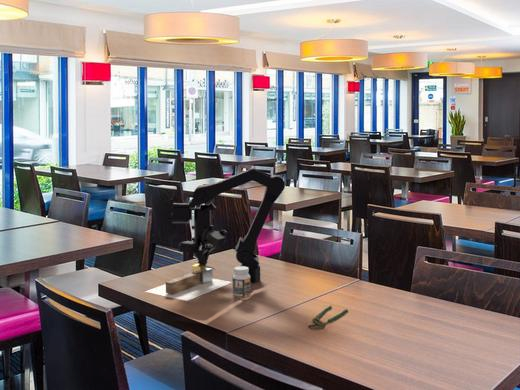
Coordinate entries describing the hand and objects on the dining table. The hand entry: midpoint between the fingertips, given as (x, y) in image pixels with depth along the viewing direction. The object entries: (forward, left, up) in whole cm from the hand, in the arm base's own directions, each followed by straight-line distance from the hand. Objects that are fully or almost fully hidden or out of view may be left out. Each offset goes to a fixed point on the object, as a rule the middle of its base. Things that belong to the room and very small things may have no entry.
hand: (203, 267), depth 211 cm
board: (0, +8, -6) cm, 10 cm away
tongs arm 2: (-1, +11, -5) cm, 12 cm away
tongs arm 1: (+1, +11, -5) cm, 12 cm away
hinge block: (0, +1, -5) cm, 5 cm away
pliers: (-51, +8, -7) cm, 52 cm away
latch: (0, +3, -1) cm, 3 cm away
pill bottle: (-20, +6, -6) cm, 22 cm away
